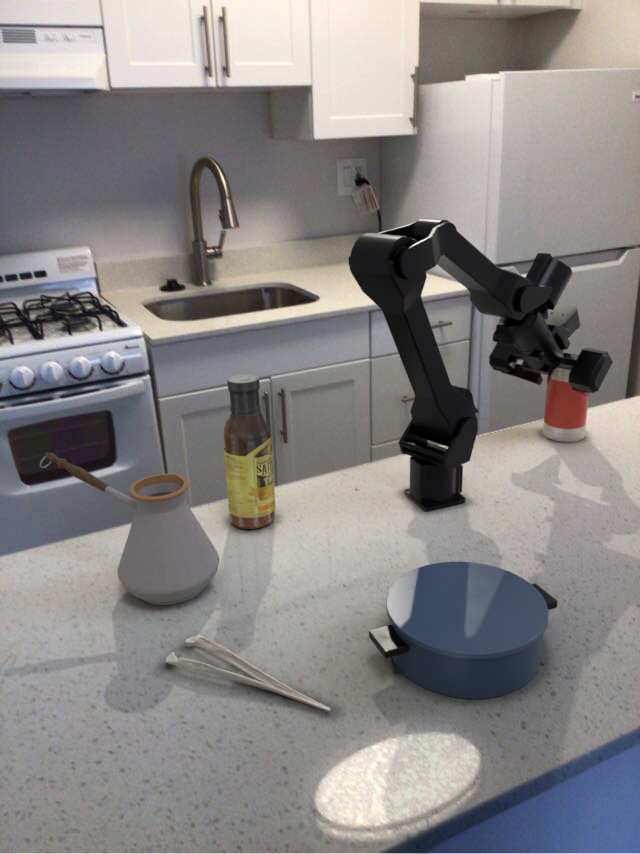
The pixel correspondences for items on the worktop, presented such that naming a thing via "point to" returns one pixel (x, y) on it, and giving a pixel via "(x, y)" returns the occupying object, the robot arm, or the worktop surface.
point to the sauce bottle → (248, 456)
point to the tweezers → (232, 658)
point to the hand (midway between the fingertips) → (565, 388)
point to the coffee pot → (159, 538)
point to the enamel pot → (465, 629)
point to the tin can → (564, 409)
